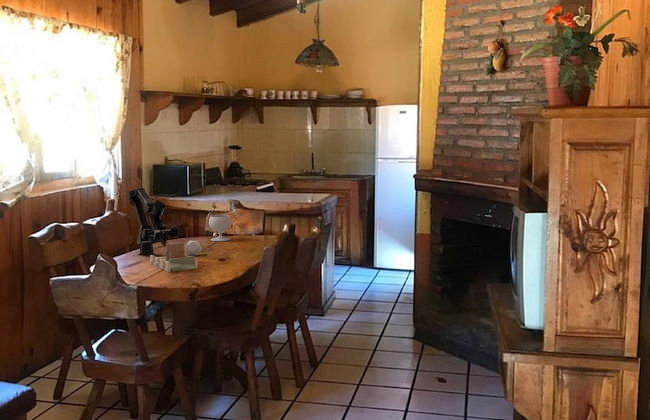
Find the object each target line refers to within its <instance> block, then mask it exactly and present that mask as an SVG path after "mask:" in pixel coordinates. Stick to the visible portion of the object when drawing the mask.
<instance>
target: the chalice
mask: <svg viewBox="0 0 650 420" xmlns="http://www.w3.org/2000/svg"><path fill="white" fill-rule="evenodd" d="M232 224H233V221H232V218H231V215H229V214H214V215H213V214H212V215H210V217H209V219H208V226H209V227H210V229H213V230H215V231H216V232H217V233H218V236H217V237H213V238H211V239H210V241H212V242H226V241H231V238H230V237H225V236H223V233H224V231H226V230H228V229H229V228H231V226H232Z"/></svg>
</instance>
